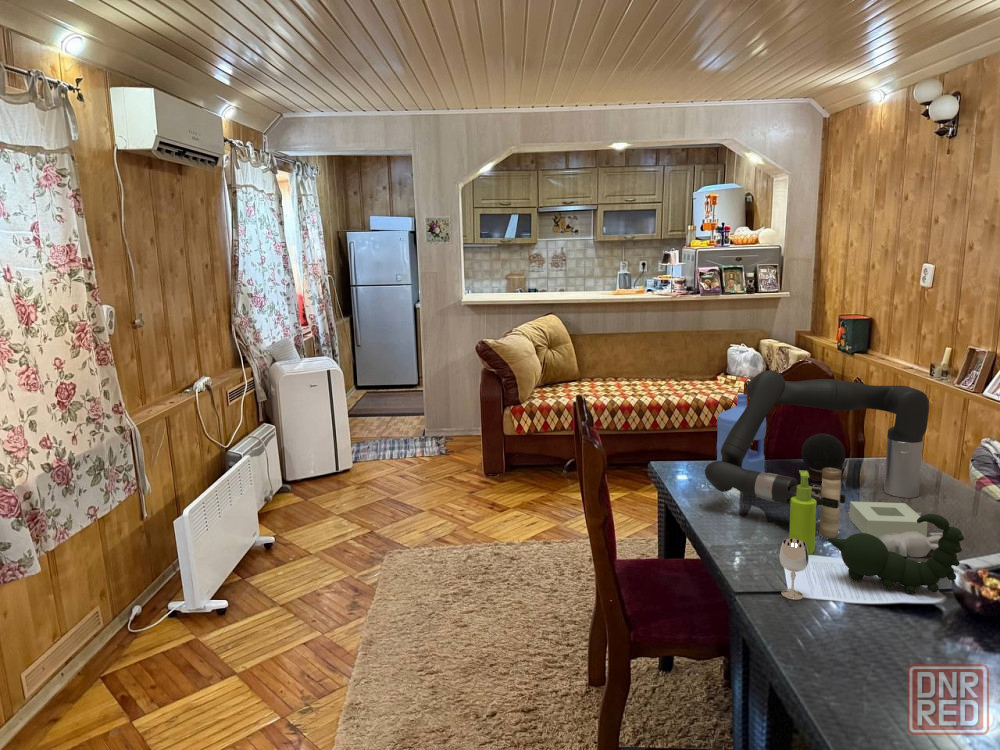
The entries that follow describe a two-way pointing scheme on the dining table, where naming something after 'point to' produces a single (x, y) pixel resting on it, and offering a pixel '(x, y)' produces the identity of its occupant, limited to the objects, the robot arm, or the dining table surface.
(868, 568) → the toy figurine
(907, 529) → the socket block
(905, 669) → the dining table surface
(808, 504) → the soap dispenser
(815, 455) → the black ball on pedestal
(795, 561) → the wineglass
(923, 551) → the bunny figurine
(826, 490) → the peg
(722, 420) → the water jug
